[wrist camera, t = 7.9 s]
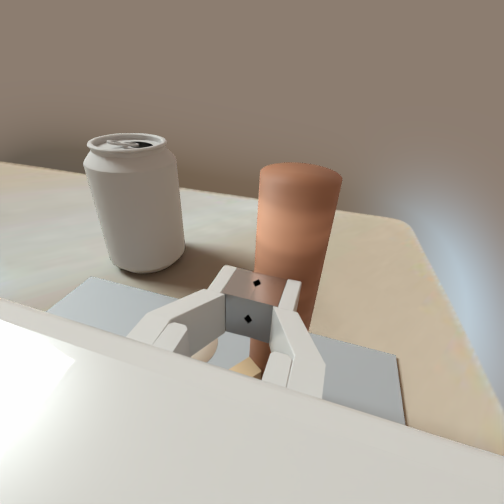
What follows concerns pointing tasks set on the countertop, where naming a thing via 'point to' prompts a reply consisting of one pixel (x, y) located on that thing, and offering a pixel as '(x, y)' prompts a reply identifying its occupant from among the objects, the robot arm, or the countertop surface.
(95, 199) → the can
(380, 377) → the card
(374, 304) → the countertop surface
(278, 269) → the rail
